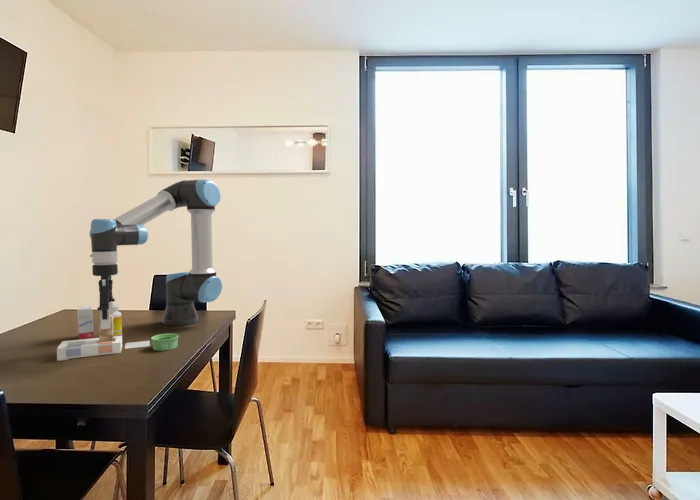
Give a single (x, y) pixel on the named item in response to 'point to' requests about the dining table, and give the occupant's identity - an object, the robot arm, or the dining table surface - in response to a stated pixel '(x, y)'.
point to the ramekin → (164, 341)
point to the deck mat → (137, 344)
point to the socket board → (88, 348)
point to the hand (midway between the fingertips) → (107, 324)
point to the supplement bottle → (117, 321)
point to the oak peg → (106, 332)
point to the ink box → (85, 322)
